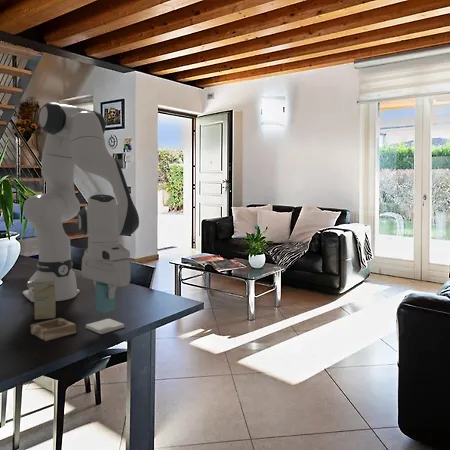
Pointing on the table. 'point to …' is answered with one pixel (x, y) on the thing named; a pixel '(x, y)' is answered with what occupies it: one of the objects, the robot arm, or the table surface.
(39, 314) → the skincare box
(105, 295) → the teal bar
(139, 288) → the table surface
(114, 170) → the robot arm
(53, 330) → the pocket holder
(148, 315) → the table surface
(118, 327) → the ceramic tile
